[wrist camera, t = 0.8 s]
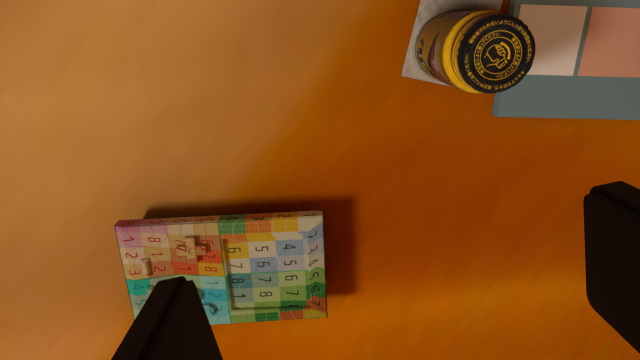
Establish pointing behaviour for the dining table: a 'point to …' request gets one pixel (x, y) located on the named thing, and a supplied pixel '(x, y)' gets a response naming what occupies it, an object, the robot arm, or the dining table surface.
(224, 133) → the dining table surface
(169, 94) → the dining table surface
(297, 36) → the dining table surface
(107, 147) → the dining table surface
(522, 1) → the board
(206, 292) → the puzzle game
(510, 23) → the condiment
